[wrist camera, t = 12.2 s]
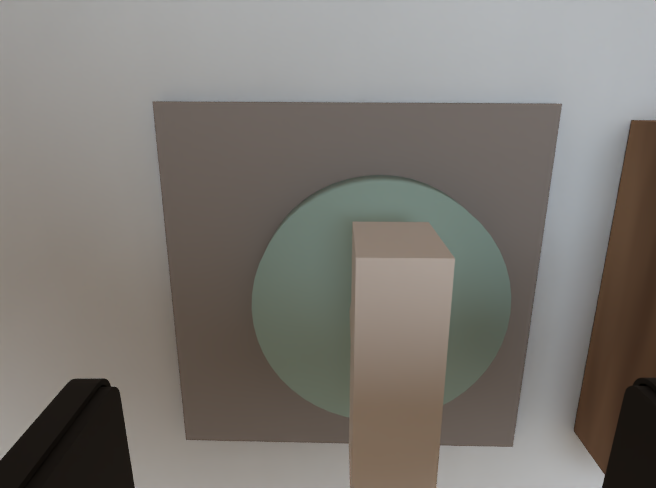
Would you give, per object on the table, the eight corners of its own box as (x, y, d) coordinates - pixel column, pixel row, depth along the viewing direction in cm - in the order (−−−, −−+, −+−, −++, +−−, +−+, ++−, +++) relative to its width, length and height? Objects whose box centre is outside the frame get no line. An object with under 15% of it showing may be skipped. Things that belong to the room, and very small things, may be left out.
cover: (254, 174, 16) (196, 223, 9) (508, 175, 16) (622, 226, 9) (264, 392, 18) (223, 546, 12) (483, 395, 18) (561, 554, 12)
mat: (189, 432, 19) (186, 439, 19) (157, 101, 16) (152, 101, 15) (509, 439, 19) (512, 446, 19) (556, 103, 15) (561, 104, 15)
